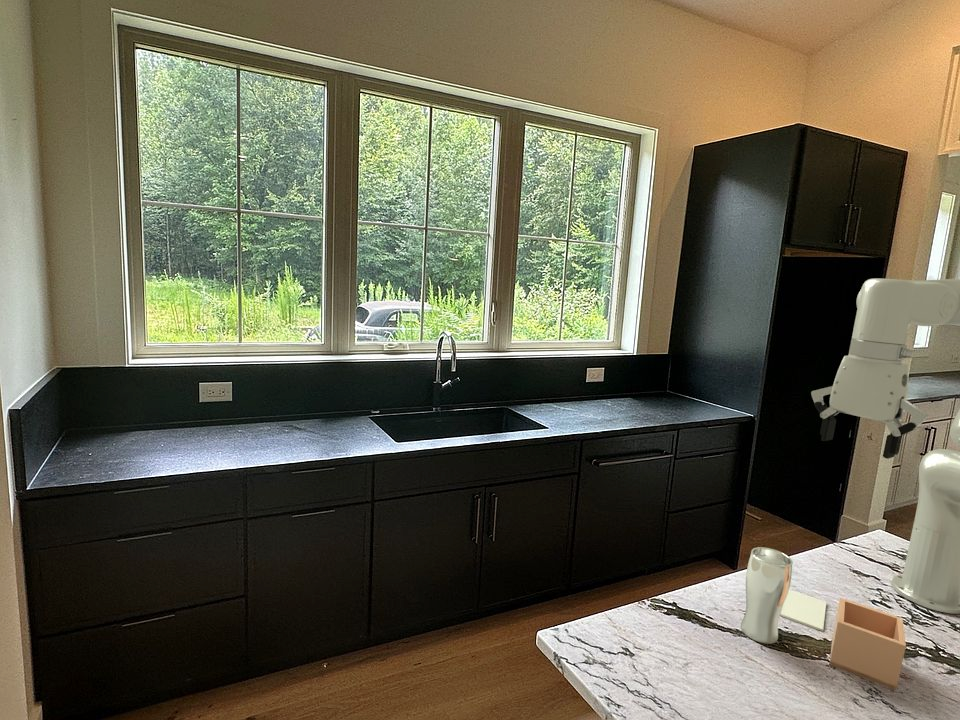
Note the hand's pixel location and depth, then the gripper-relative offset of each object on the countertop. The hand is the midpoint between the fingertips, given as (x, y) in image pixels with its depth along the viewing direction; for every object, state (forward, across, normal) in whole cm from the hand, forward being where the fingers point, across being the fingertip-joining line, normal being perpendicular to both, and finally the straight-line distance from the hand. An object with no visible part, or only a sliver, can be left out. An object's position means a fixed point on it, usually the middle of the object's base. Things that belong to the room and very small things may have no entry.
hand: (856, 448), depth 96 cm
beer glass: (+36, +5, +11) cm, 38 cm away
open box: (+35, -8, +3) cm, 36 cm away
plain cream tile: (+35, +6, -3) cm, 36 cm away
